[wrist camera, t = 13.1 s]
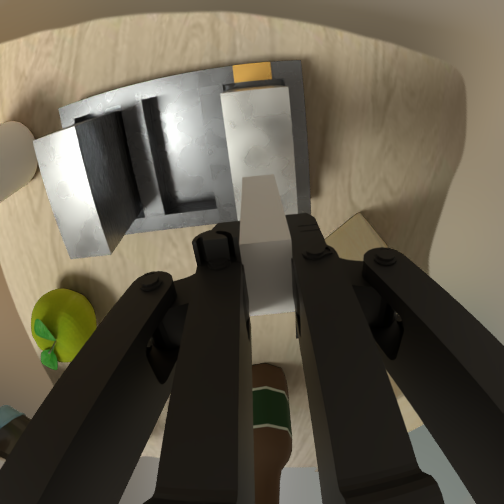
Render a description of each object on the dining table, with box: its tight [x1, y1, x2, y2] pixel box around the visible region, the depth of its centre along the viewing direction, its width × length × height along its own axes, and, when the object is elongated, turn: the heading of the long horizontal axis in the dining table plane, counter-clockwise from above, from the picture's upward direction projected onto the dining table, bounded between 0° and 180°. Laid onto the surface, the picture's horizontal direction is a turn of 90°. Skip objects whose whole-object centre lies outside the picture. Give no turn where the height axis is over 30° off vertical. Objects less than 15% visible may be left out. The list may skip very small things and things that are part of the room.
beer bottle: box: [252, 363, 292, 504], centre depth 37 cm, size 8×8×24 cm
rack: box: [33, 60, 311, 259], centre depth 25 cm, size 22×14×11 cm, turn 96°
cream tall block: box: [325, 213, 424, 432], centre depth 27 cm, size 8×7×21 cm
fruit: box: [31, 289, 97, 370], centre depth 35 cm, size 9×9×10 cm
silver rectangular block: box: [220, 84, 298, 221], centre depth 24 cm, size 4×10×10 cm, turn 6°
